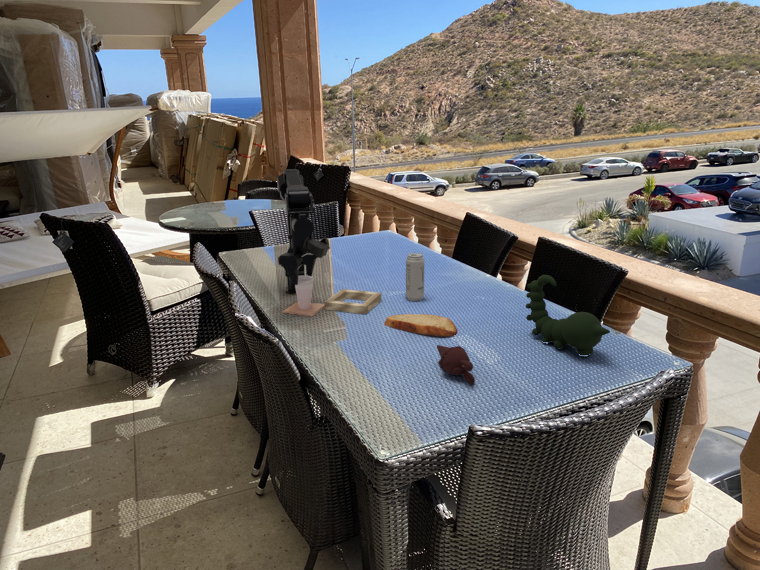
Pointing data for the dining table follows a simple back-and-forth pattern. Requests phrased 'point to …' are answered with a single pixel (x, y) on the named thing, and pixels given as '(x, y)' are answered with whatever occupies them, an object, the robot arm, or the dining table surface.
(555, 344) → the toy figurine
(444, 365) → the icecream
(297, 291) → the smoothie
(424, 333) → the slice of bread
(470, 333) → the dining table surface
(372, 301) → the holder
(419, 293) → the energy drink can
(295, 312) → the coaster
